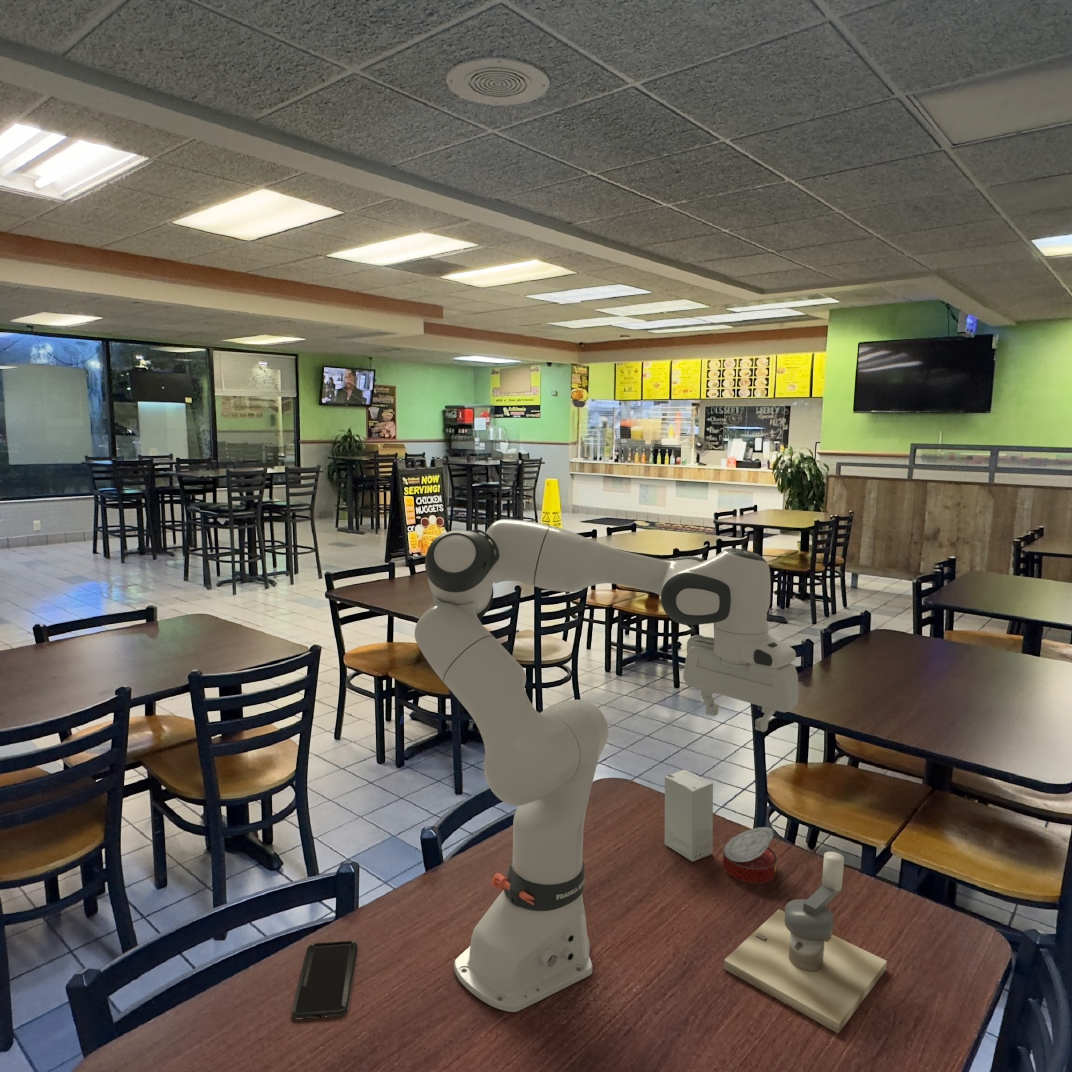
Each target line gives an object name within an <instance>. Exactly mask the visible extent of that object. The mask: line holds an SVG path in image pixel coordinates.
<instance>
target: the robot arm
mask: <svg viewBox="0 0 1072 1072" xmlns="http://www.w3.org/2000/svg"><path fill="white" fill-rule="evenodd" d="M482 534H483V535H482ZM424 569H425V573H426V576H427V580H428V586H429V590H430V593H431V596H432V599H433V603H432V605H431V606H430V608H429V609H427V610H426V611H425V612H423V614H422V615H421V616H420V617H419V619H418V621H417V623H416V625H415V629H414V638H415V642H416V644H417V646H418V648H419V650H420V651H421V653H422V654H423V656H424V658H425V660H426V661H427V662H428V664H429V665H430V667H431V669H433V671H434V672H435V674H436V676H438V678H439V679H440V680H441V681H442V682H443V684H444V685H445V686H446V687H447V688H448V689H449V690H450V692H451V693H452V694H453V695H454V697H456V699H457V700H458V701H459V702H460V704H461V705H462V706H463V707H464V709H465V710H466V711H467V712H468V713H469V715H470V717H472V719H473V721H474V723H475V724H476V727H477V729H478V731H479V733H480V736H481V738H482V739H481V740H482V742H483V745H484V746H483V747H484V758H483V772H484V777H485V778H484V779H485V781H486V783H487V785H488V787H489V789H490V790H491V792H492V793H493V794H494V796H496V798H498V799H499V800H500V801H502V802H503V803H505V804H508V805H510V806H517V807H516V810H515V812H514V815H513V821H512V858H511V861H510V863H509V867H508V869H507V872H506V877H505V876H504V875H503V874H502V873H500V872H497V873H495V874H494V875H493V878H492V879H491V884H492V886H493V887H495V888H498V889H499V891H501V893H500V894H499V895H498V896H497V897H496V898H495V900H494V902H493V903H492V904H491V906H490V907H489V908H488V910H487V911H486V912H485V914H484V915H483V916H482V918H481V919H480V920H479V921H478V922H477V924H476V925H475V927H474V928H473V930H472V931H473V932H472V934H471V939H470V945H469V946H468V947H467V948H466V949H465V950H464V951H463V952H462V953H460V955H458V957H456V959H455V960H454V966H453V968H454V973H455V976H456V977H457V979H458V980H459V982H460V983H461V984H462V986H464V987H465V988H466V990H468V992H470V993H471V994H472V995H474V996H475V997H476V998H478V999H479V1000H480V1001H482V1002H484V1003H485V1004H487V1005H489V1006H491V1007H492V1008H495V1009H497V1010H501V1011H505V1012H510V1013H517V1012H520V1011H521V1010H524V1009H526V1008H528V1007H530V1006H532V1005H533V1004H535V1003H538V1002H539V1001H542V1000H544V999H546V998H547V997H549V996H552V995H554V994H556V993H557V992H560V991H562V990H563V989H565V988H568V987H570V986H572V985H573V984H576V983H577V982H579V981H581V980H583V979H586V978H587V977H590V976H591V975H592V974H593V963H592V960H591V958H590V957H591V956H590V952H591V943H590V938H589V936H588V929H587V918H586V911H585V906H584V900H583V894H584V890H585V883H586V882H585V881H586V873H585V863H584V861H583V845H584V827H585V826H584V824H585V819H586V818H585V817H586V811H587V807H588V803H589V799H590V795H591V791H592V786H593V783H594V778H595V775H596V769H597V768H598V762H599V760H600V758H601V754H602V753H603V751H604V748H605V746H606V744H607V742H608V739H609V727H608V722H607V719H606V717H605V715H604V714H603V713H602V711H601V709H599V708H598V706H596V705H595V704H594V703H592V702H590V701H588V700H584V699H573V700H566V701H562V702H557V703H556V704H553V705H551V706H549V707H548V708H546V709H544V710H543V711H541V712H539V711H537V710H536V708H535V707H534V705H533V704H532V702H531V701H530V699H529V697H528V694H527V692H526V689H525V687H526V683H527V675H526V674H527V673H526V672H525V669H524V668H523V666H522V665H521V664H520V663H519V661H517V660H516V658H515V657H513V655H512V654H510V652H509V651H508V649H506V648H505V647H504V646H503V644H501V642H500V641H499V640H498V639H496V637H495V636H494V635H493V634H492V633H491V632H490V631H489V630H488V628H487V627H485V626H484V625H483V623H482V622H481V620H482V619H483V618H484V616H485V615H486V614H487V612H488V611H489V609H490V607H491V605H492V602H493V599H494V586H493V584H498V583H503V582H509V581H510V582H519V583H523V584H526V585H529V586H531V587H537V588H539V589H543V590H548V591H553V592H563V593H575V592H578V591H581V590H584V589H585V588H586V589H587V588H589V587H592V586H596V585H601V584H602V585H603V584H611V585H612V584H613V585H620V586H624V587H629V588H632V589H636V590H642V591H646V592H650V593H654V594H657V595H658V596H660V603H661V606H662V609H663V611H664V613H665V614H666V615H667V616H668V617H669V618H670V619H671V620H672V621H674V622H676V623H678V624H679V625H683V626H699V625H708V624H710V625H711V624H714V628H713V629H714V630H713V633H714V634H713V637H710V636H704V635H701V634H695V635H693V636H690V637H689V638H688V640H687V642H686V656H685V662H684V666H683V667H684V668H683V672H682V673H683V675H682V677H683V681H684V682H685V684H686V685H687V686H689V687H692V688H697V689H700V696H701V698H702V700H703V702H704V705H705V707H706V708H705V715H708V716H711V717H716V716H718V714H719V707H720V705H719V704H717V703H715V700H714V697H713V694H717V695H721V696H724V697H727V698H731V699H734V700H737V701H742V702H745V703H748V704H752V705H756V706H759V707H761V713H763V716H762V717H759V718H757V719H755V720H754V724H755V726H754V729H755V730H756V731H760V732H761V733H765V732H766V731H767V730H768V729H769V728H768V727H769V720H770V719H771V718H772V716H774V714H775V713H776V712H780V713H787V712H789V711H791V710H793V709H794V708H795V707H796V706H797V705H798V702H799V678H798V675H799V674H798V671H797V668H796V667H795V665H793V662H794V661H795V660H796V656H797V653H796V650H795V649H794V648H792V647H791V646H789V645H788V644H785V643H784V642H782V641H780V640H779V639H777V638H775V637H773V636H772V635H771V634H769V624H768V618H767V617H768V611H769V608H770V606H771V587H772V586H771V570H770V569H771V568H770V565H769V563H768V562H767V561H766V559H765V558H764V557H763V556H762V555H760V554H758V553H757V552H756V553H755V552H753V551H751V550H746V549H741V548H733V547H729V548H725V549H723V550H722V551H721V552H720V553H717V554H716V555H714V556H712V557H710V558H709V559H706V560H705V559H703V558H700V557H698V556H694V555H693V556H692V555H688V556H687V555H686V556H684V555H683V556H679V557H675V558H674V557H673V558H657V557H654V556H649V555H644V554H641V553H635V552H631V551H626V550H623V549H620V548H619V549H618V548H614V547H611V546H608V545H605V544H603V543H601V542H599V541H598V542H597V541H596V540H592V539H590V538H587V537H585V536H583V535H581V534H578V533H575V532H573V531H569V530H567V529H563V528H561V527H557V526H553V525H549V524H546V523H539V522H534V521H528V520H520V519H511V518H510V519H507V518H505V519H504V518H503V519H502V518H501V519H499V520H495V521H494V522H493V523H492V524H490V526H489V527H488V528H487V530H486V531H483V530H481V529H472V530H464V529H463V530H462V529H460V530H459V529H458V530H451V531H447V532H444V533H441V534H440V535H438V536H437V537H435V539H433V540H432V542H431V543H430V544H429V547H428V548H427V550H426V554H425V561H424Z"/></svg>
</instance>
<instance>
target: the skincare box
mask: <svg viewBox="0 0 1072 1072" xmlns="http://www.w3.org/2000/svg"><path fill="white" fill-rule="evenodd" d="M713 815H714V783H713V782H712V781H709V780H707V779H705V778H703V777H701V776H698V775H696V774H694V773H692V772H691V771H688V770H686V769H683V770H680V771H677V772H673V773H671V774H668V775H666V776H664V845H665V846H666V847H668V848H670V849H672V850H673V851H675V852H676V853H678V854H679V855H681V856H682V857H684V858H686V859H687V860H689V861H690V862H696V861H698V860H700V859H703V858H706V857H708V856H711V855H713V852H714V850H713V847H714V846H713V843H714V833H713V831H714V828H713V827H714V816H713Z"/></svg>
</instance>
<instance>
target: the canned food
mask: <svg viewBox="0 0 1072 1072" xmlns="http://www.w3.org/2000/svg"><path fill="white" fill-rule="evenodd" d="M774 835H775V833H774V831H773V829H772V828H771V827H767V826H763V827H761V826H759V827H756V828H751V829H748V830H745V831H743V832H740V833H738V834H736V835H735V836H734V837H732V838H730V840H729V841H728V842H727V843H726V844H725V846H724V847H723V858H722V860H723V861H722V866H723V869H724V870H725V872H726V873H727V874H728V875H730V876H731V877H733V878H735V879H736V880H740V881H742V882H745V883H751V884H762V883H763V884H764V883H767V882H770V881H773V879H774V878H775V877H776V875H777V864H778V862H777V861H778V858H777V857H778V856H777V855H776V853H775V852H774V851H773V849H771V848H770V847H769V845H770V843H771V841H772V840H773V838H774Z"/></svg>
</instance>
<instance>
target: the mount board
mask: <svg viewBox="0 0 1072 1072" xmlns="http://www.w3.org/2000/svg"><path fill="white" fill-rule="evenodd" d="M784 920H785V910H784V911H783V910H782V909H777V910H776V911H775V912H774V913H773V914H772V915H771V916H770V917H769V918H768V919H766V921H764V922H763V923H762V924H761V925H760V926H759V927H758V928H757V929H756V930H755V931H754V932H752V933H751V934H750V935H749V936H748V937H747V938H745V940H744V941H743V942H742V943H741V944H739V945H738V946H737V947H736V948H735V949H734V950H733V951H732V952H731V953H729V955H727V956H726V958H725V959H724V960H723V969H724V970H725V971H726V972H728V973H730V974H732V975H734V976H736V977H737V978H739V979H741V980H743V981H744V982H746V983H748V984H750V985H752V986H754V987H755V988H757V989H759V990H760V991H762V992H763V993H766V994H767V995H770V996H771V997H773V998H774V997H775V998H774V999H777V1000H778V1001H780V1002H781V1003H783V1004H785V1005H787V1004H788V1005H787V1006H789V1007H790V1006H791V1007H790V1008H792V1009H794V1010H796V1011H798V1012H799V1013H801V1014H803V1015H804V1016H807V1017H809V1018H810V1019H812V1020H813V1021H815V1022H817V1023H819V1024H821V1025H823V1026H824V1027H825V1028H826V1029H827V1028H828V1029H829V1030H831V1031H833V1032H835V1033H836V1034H839V1033H840V1032H841V1031H842V1029H844V1027H845V1026H846V1024H847V1023H848V1021H849V1020H851V1017H852V1016H853V1014H854V1013H855V1012H856V1011H857V1010H858V1008H859V1007H860V1005H861V1004H862V1002H863V1001H864V1000H865V998H866V997H867V996H868V994H869V993H870V992H871V990H872V989H873V988H874V987H875V985H876V984H877V982H879V979H880V978H881V977H882V976H883V974H885V972H886V970H887V962H888V960H886V959H884V958H882V957H880V956H877V955H875V954H873V953H872V952H870V951H867V950H865V949H864V948H860V947H859V946H857V945H855V944H852V943H850V942H848V941H846V940H844V939H842V938H840V937H838V936H836V935H834V934H832V935H831V937H830V938H829V939H827V940H824V941H809V940H805V939H802V938H800V937H797V936H796V935H794V934H793V933H791V932H790V931H789V930H788V929H787V927H786V926H785V923H784Z"/></svg>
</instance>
